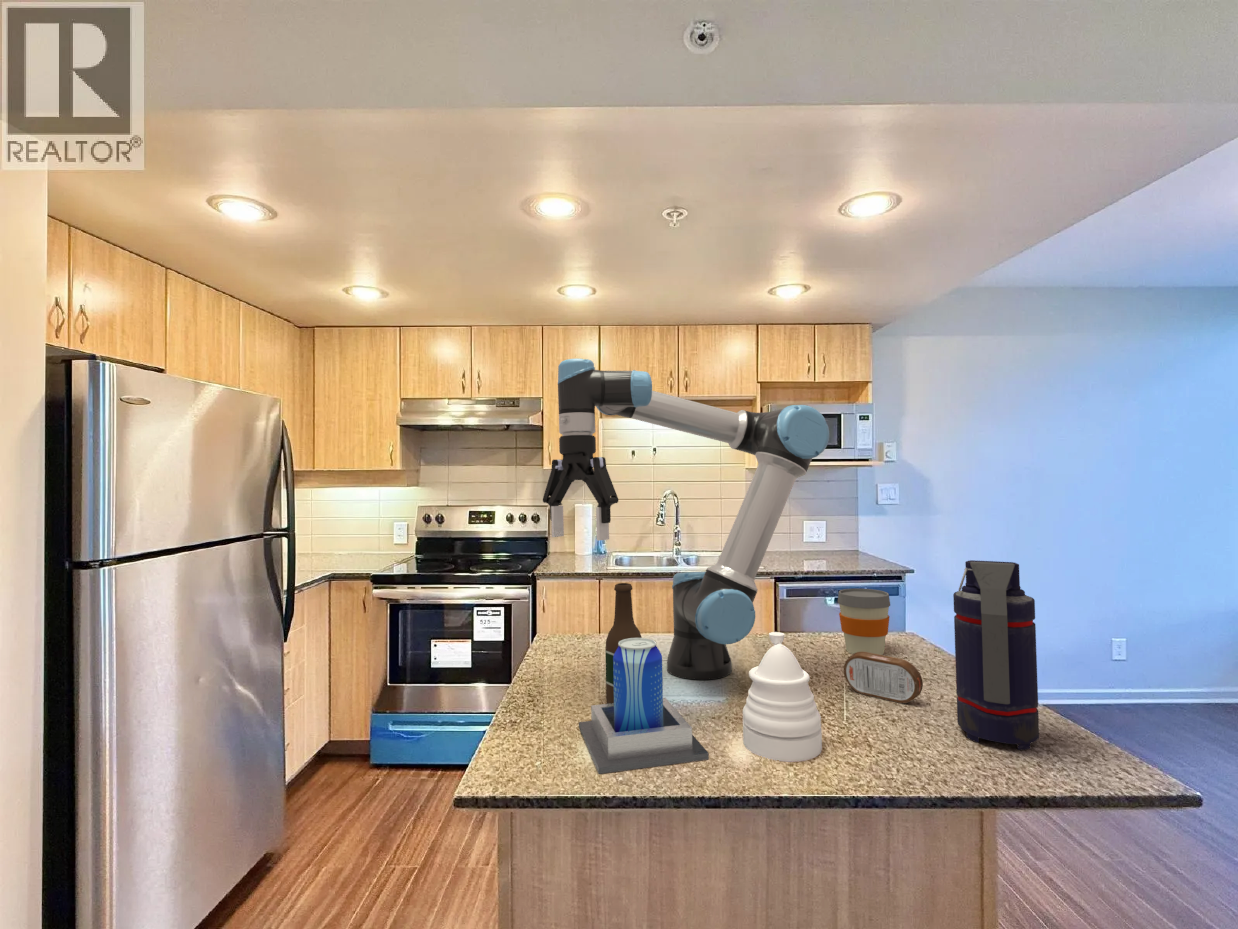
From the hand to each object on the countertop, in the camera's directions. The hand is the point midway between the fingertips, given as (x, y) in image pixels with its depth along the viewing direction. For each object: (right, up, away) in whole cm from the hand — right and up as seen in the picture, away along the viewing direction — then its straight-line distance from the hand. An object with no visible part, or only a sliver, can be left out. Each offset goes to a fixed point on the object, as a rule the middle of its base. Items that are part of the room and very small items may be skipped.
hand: (579, 538), depth 124 cm
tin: (+62, -32, -2) cm, 70 cm away
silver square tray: (+12, -32, -21) cm, 40 cm away
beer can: (+12, -32, -21) cm, 40 cm away
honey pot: (+36, -32, -22) cm, 53 cm away
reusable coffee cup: (+71, -33, +31) cm, 84 cm away
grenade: (+73, -32, -21) cm, 82 cm away
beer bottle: (+9, -33, -3) cm, 35 cm away
